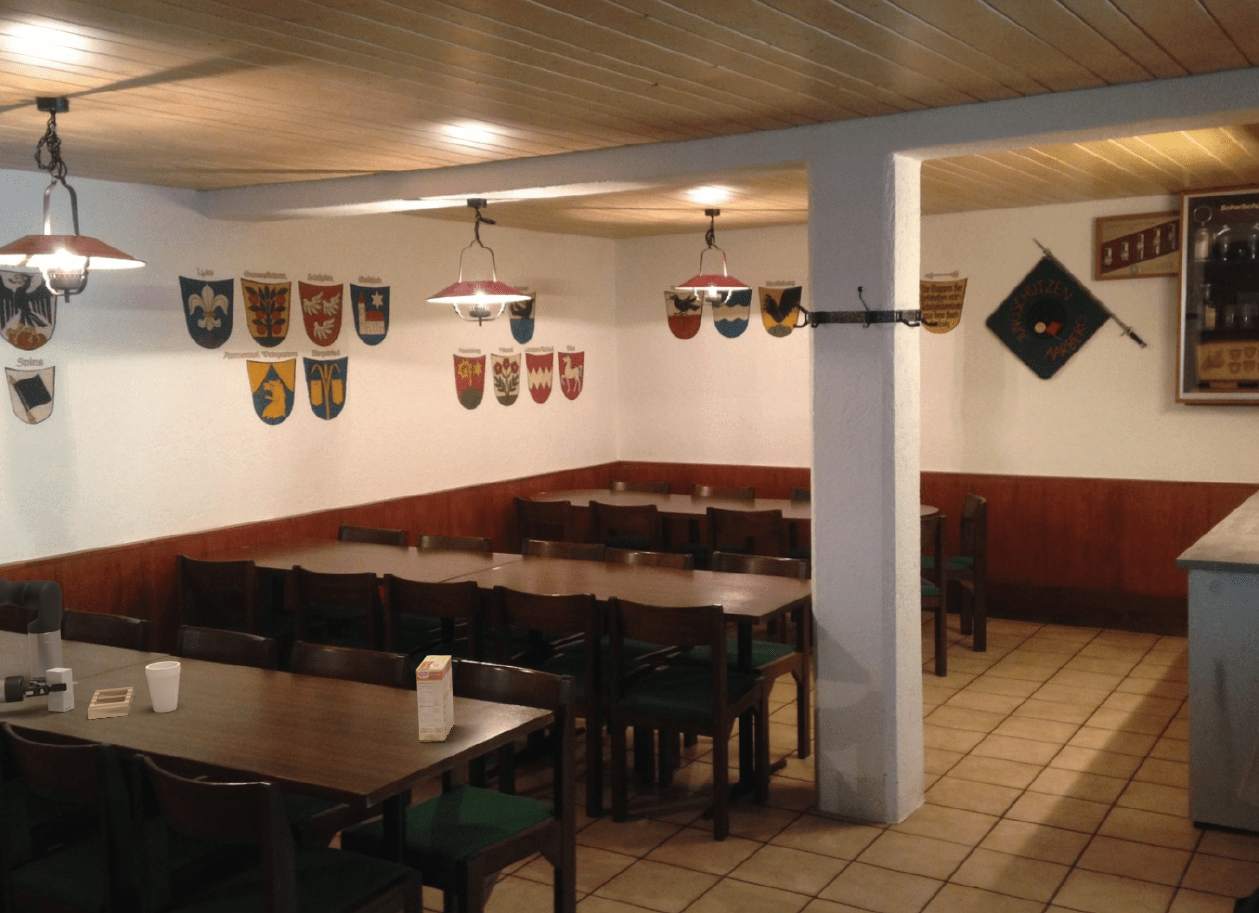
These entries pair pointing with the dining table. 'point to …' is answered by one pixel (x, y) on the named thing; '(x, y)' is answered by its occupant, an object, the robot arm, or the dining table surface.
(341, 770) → the dining table surface
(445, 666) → the coffeecake box
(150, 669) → the foam cup
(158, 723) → the dining table surface
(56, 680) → the skincare box
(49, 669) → the robot arm
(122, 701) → the wooden crate
